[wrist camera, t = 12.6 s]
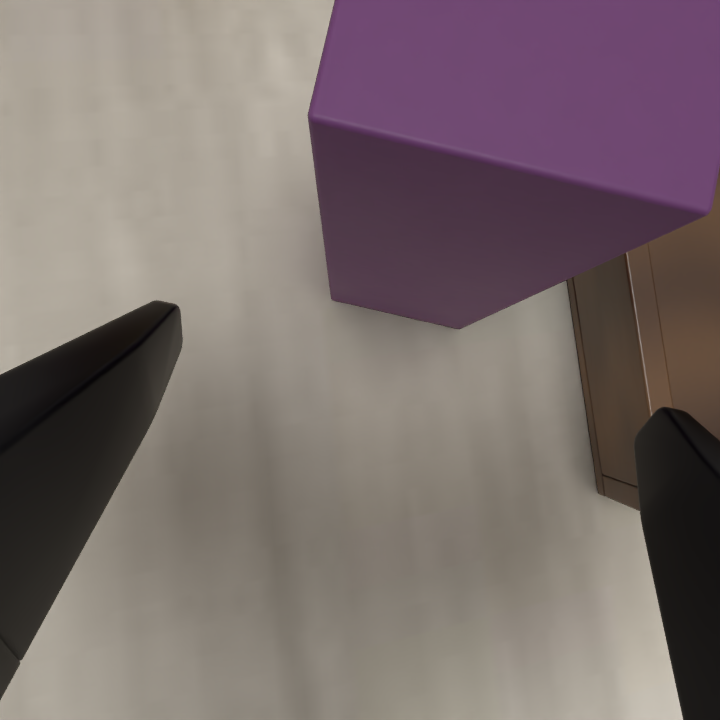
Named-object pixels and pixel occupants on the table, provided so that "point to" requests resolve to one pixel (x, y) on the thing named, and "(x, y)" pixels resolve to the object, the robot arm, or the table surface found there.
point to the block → (507, 144)
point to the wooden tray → (649, 343)
